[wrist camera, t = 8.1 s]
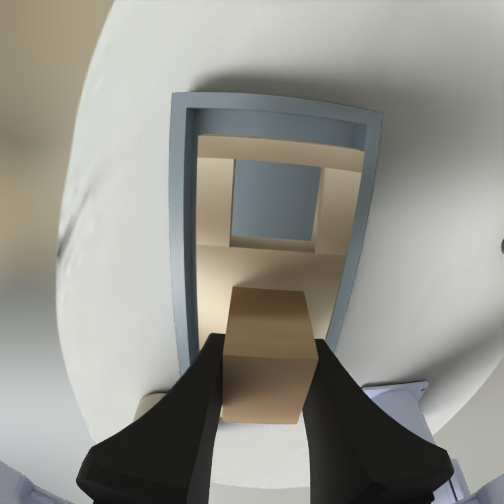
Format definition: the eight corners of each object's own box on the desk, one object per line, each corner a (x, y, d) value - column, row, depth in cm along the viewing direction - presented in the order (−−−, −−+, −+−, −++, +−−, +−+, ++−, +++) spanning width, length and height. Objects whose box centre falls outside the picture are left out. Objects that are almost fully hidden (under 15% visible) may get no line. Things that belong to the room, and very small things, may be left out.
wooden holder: (204, 133, 11) (164, 146, 6) (354, 148, 11) (416, 172, 6) (206, 401, 18) (196, 468, 13) (297, 406, 18) (303, 473, 13)
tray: (315, 370, 23) (320, 392, 21) (187, 362, 23) (181, 384, 21) (366, 114, 15) (382, 113, 13) (183, 97, 15) (172, 92, 13)
